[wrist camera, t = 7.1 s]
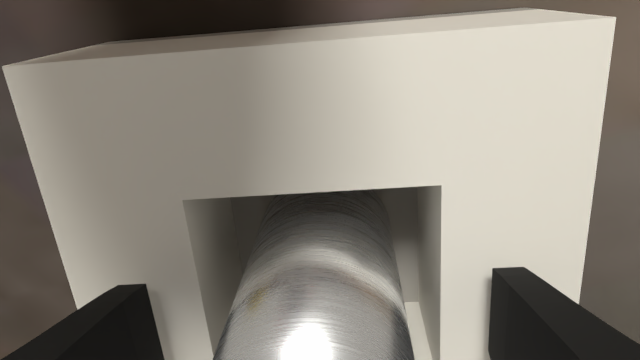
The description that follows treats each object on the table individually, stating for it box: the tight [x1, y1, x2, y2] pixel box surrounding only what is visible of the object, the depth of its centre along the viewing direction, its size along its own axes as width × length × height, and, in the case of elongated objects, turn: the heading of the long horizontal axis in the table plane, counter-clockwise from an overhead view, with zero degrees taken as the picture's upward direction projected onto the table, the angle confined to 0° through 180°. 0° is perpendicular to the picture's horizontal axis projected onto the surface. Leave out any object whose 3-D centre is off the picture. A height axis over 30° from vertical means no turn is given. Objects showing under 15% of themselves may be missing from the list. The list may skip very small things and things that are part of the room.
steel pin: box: [213, 189, 415, 360], centre depth 11 cm, size 4×4×7 cm
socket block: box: [2, 8, 616, 360], centre depth 13 cm, size 11×11×4 cm
